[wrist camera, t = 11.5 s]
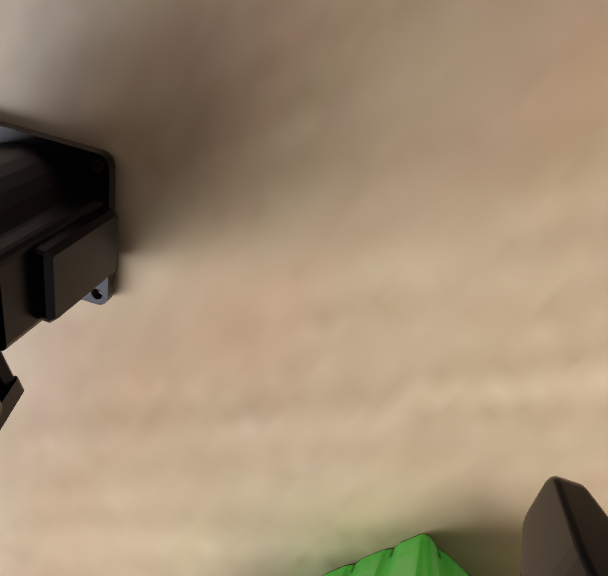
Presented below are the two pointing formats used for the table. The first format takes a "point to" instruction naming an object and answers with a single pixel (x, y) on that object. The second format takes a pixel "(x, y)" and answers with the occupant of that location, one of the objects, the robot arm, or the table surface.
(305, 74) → the table surface
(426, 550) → the fruit basket
